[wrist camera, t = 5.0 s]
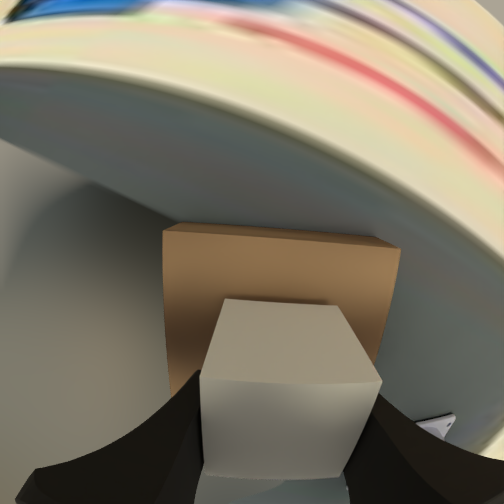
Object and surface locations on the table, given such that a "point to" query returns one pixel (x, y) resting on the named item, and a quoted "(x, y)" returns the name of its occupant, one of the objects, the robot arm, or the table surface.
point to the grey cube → (283, 392)
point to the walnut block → (268, 281)
